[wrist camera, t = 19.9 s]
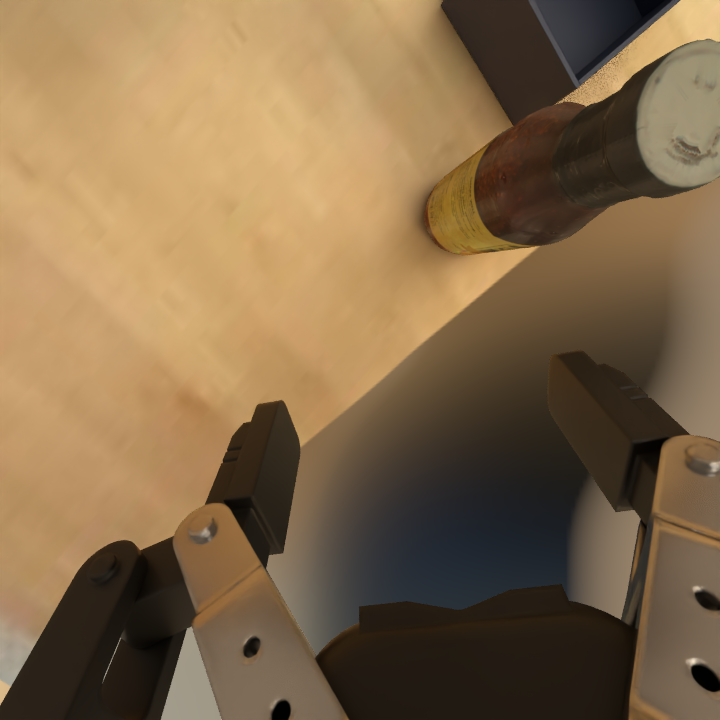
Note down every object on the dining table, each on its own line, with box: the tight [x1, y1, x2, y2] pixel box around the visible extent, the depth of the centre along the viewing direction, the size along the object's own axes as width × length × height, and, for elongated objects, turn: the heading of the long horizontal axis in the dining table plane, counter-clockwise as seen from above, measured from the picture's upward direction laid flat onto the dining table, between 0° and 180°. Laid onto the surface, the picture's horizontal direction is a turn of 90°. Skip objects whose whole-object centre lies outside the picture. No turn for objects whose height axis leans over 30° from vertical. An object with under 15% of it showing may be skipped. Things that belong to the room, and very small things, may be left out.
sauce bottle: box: [425, 39, 720, 255], centre depth 21 cm, size 6×6×20 cm
